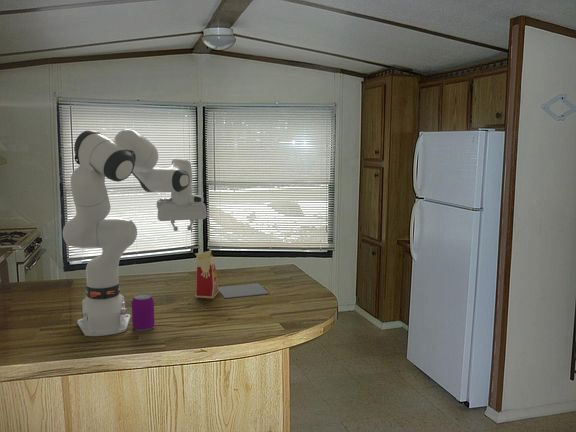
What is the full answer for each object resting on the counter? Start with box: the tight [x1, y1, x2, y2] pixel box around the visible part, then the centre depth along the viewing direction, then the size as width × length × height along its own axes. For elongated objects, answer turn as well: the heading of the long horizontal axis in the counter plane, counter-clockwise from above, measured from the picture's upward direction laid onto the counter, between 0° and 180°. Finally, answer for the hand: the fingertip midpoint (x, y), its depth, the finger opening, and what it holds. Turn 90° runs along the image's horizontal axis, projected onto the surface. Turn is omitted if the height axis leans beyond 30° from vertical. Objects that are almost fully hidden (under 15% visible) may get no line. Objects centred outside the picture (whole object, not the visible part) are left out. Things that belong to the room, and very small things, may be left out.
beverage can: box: [131, 292, 155, 332], centre depth 189 cm, size 8×8×12 cm
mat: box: [218, 282, 270, 299], centre depth 235 cm, size 16×20×1 cm
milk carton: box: [194, 250, 220, 299], centre depth 227 cm, size 9×9×20 cm
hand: (182, 230), depth 221 cm, fingers open, 4 cm apart
